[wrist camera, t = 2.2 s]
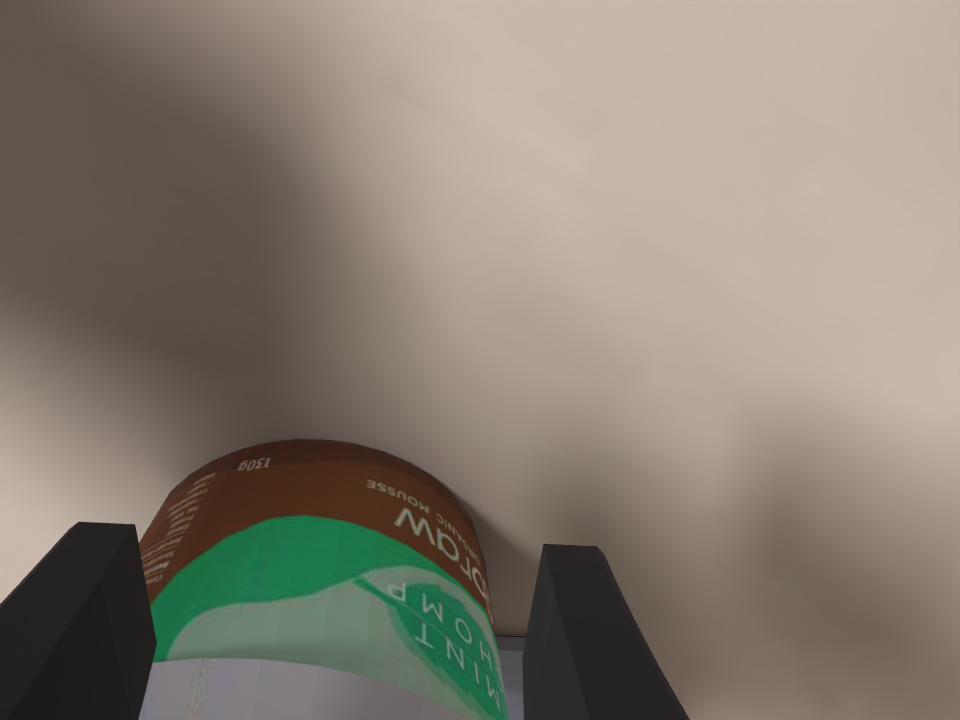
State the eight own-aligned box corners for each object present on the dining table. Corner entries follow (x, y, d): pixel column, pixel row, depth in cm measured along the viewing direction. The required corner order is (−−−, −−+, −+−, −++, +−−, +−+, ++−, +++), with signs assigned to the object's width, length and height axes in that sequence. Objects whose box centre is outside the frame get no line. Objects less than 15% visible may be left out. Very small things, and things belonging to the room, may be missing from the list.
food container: (621, 569, 25) (709, 957, 16) (470, 677, 27) (479, 1070, 19) (268, 303, 20) (133, 649, 12) (121, 459, 22) (-84, 848, 14)
